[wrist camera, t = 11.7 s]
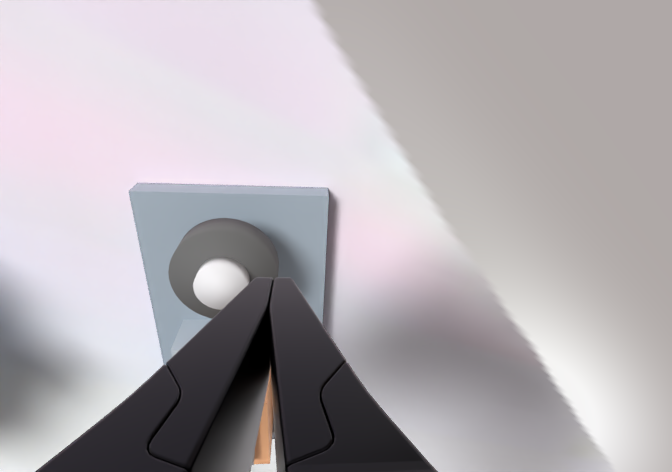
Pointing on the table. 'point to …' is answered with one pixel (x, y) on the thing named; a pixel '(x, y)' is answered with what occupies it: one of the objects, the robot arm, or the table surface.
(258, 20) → the table surface
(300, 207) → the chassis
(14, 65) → the table surface
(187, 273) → the wheel
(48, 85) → the table surface
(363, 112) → the table surface
